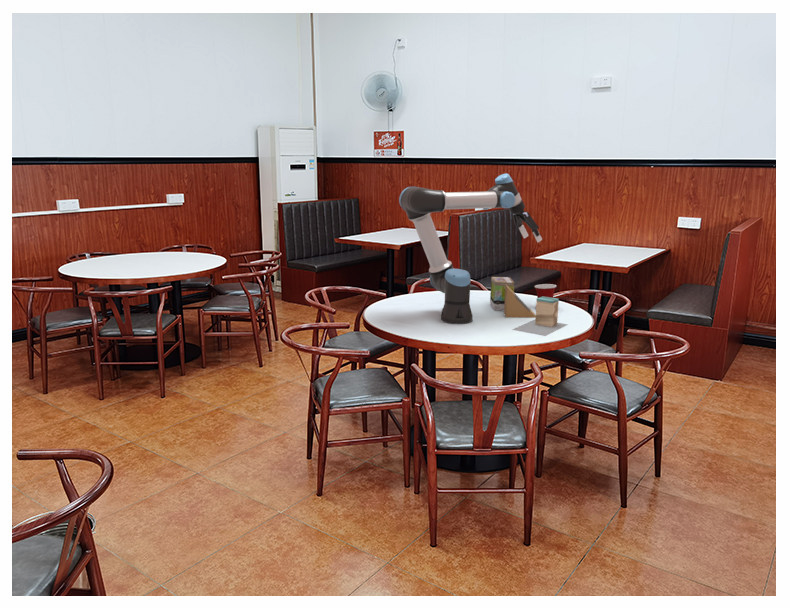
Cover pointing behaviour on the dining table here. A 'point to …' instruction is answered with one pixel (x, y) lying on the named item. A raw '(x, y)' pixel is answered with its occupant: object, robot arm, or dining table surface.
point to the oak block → (546, 311)
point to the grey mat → (538, 328)
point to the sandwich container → (516, 305)
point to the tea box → (499, 291)
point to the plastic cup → (545, 290)
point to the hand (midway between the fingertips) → (533, 239)
